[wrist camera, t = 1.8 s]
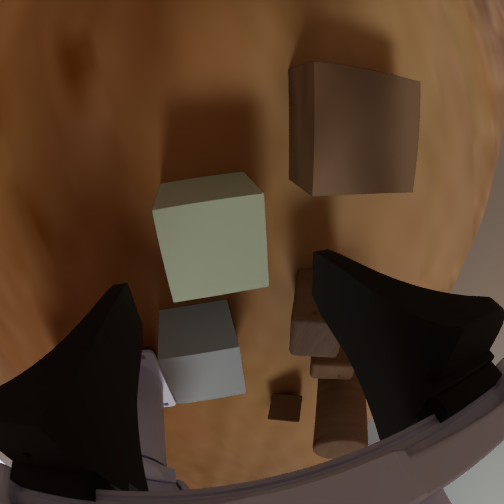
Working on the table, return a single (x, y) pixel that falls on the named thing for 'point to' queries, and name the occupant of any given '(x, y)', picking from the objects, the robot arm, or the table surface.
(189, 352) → the slate cube
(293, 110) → the walnut base
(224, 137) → the table surface
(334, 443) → the wooden block set
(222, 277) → the sage cube
